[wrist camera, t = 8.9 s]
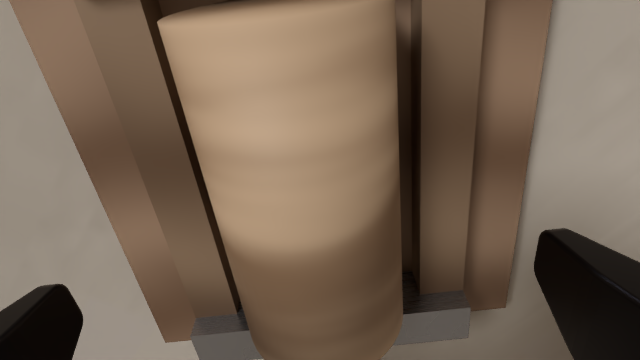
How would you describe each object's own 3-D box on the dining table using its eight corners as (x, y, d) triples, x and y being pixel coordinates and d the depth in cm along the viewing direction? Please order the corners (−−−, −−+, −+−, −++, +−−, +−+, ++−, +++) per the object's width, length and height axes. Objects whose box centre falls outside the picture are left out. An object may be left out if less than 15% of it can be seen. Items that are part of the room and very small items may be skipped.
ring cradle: (495, 289, 17) (528, 350, 15) (172, 323, 18) (149, 387, 15) (562, -216, 9) (660, -279, 7) (-23, -131, 10) (-142, -160, 7)
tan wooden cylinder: (388, 252, 15) (419, 370, 11) (258, 266, 15) (238, 388, 11) (376, -21, 10) (420, -1, 6) (192, 4, 11) (115, 40, 6)
